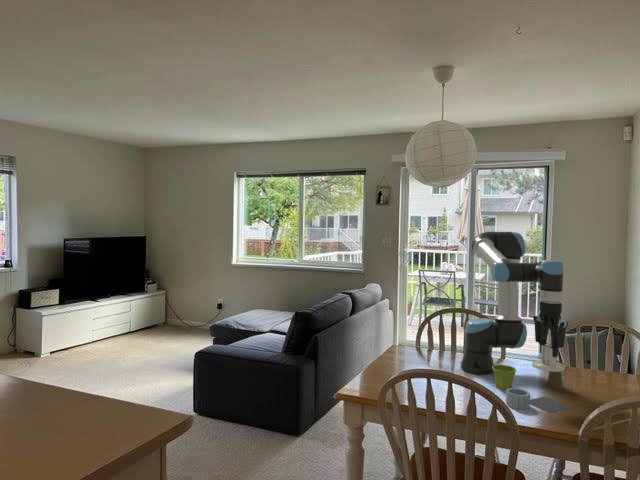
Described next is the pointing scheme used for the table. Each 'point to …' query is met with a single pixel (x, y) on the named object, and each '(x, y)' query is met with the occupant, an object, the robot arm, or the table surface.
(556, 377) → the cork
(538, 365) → the lid
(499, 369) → the plant pot
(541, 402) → the mat
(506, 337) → the robot arm
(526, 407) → the bowl
